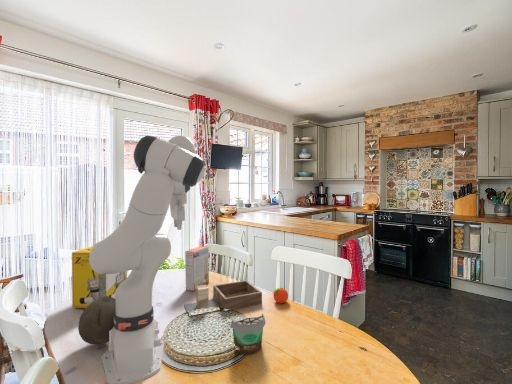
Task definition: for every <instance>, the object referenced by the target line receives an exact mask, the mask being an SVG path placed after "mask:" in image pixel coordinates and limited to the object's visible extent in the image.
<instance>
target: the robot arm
mask: <svg viewBox="0 0 512 384" xmlns="http://www.w3.org/2000/svg"><path fill="white" fill-rule="evenodd" d="M133 160H134V164H135V166H136V167H137V171H138V173H139V174H140V175H141V177H140V178H139V180H138V182H137V184H136V186H135V188H134V189H133V192H132V195H131V197H130V201H129V204H128V207H127V210H126V213H125V216H124V217H123V220H122V221H121V223H120V224H119V226H117V228H116V229H115V230H114V231H112V232H111V233H110V234H109V235H108V236H107V237H105V238H104V239H102V240H100V241H98V242H97V243H95V244H94V245H92V246H93V248H92V250H91V252H90V255H89V262H90V265H91V267H92V269H93V270H94V271H95V272H96V273H98V274H116V273H120V272H124V271H127V272H128V271H130V273H129V274H128V276H127V278H126V279H125V280H124V281H123V282H122V283H120V284H119V286H118V287H117V289H116V293H115V307H116V312H115V313H114V327H113V328H112V329H111V330H110V331H109V342H108V348H107V351H106V352H105V353H103V355H102V356H101V362H102V366H103V371H104V375H105V379H106V383H107V384H133V383H136V382H139V381H142V380H146V379H147V378H150V377H151V376H153V375H155V374H157V373H158V372H160V370H161V368H162V367H161V366H162V363H163V362H162V360H163V356H164V355H163V354H164V349H165V342H164V343H163V341H164V340H161V338H160V337H159V334H160V328H159V323H158V320H156V319H154V314H155V312H154V311H155V310H154V306H153V287H154V281H155V278H156V276H157V273H158V271H159V270H160V268H161V267H162V264H164V262H165V261H166V260H167V259H168V258H169V256H170V254H171V252H172V244H171V241H170V238H169V237H168V236H167V235H166V234H163V233H159V232H160V230H161V228H162V227H163V224H164V221H165V219H166V216H167V214H168V210H169V208H170V216H171V218H172V219H173V227H175V228H176V229H177V230H178V231H180V230H182V225H183V222H184V221H185V220H186V209H185V205H186V204H187V203H188V199H187V198H188V197H187V196H188V195H187V193H188V192H189V191H190V190H191V188H192V187H195V186H197V184H198V183H199V182H201V180H202V179H203V177H204V173H205V169H206V168H205V161H204V160H203V158H201V157H200V156H199V154H196V148H195V145H194V143H193V141H192V140H191V139H190V138H189V137H187V136H185V135H175V136H173V137H172V138H170V139H169V140H168V141H166V140H164V139H160V138H159V137H158V136H157V137H156V136H154V135H153V136H152V135H145V136H142V137H141V138H140V139H139V140H138V142H137V143H136V145H135V147H134V151H133Z"/></svg>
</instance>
